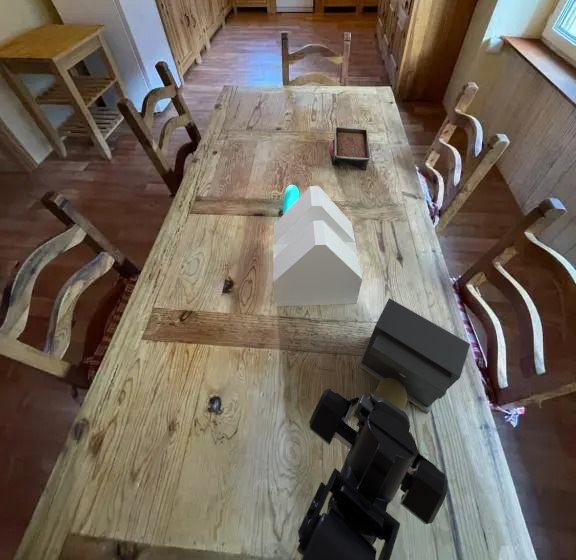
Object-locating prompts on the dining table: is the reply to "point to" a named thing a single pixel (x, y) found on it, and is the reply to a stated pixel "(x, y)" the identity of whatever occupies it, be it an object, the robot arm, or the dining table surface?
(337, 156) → the square planter box
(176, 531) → the dining table surface
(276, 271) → the white house shaped block
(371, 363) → the coffee maker
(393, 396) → the cork
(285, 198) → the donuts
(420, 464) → the robot arm
